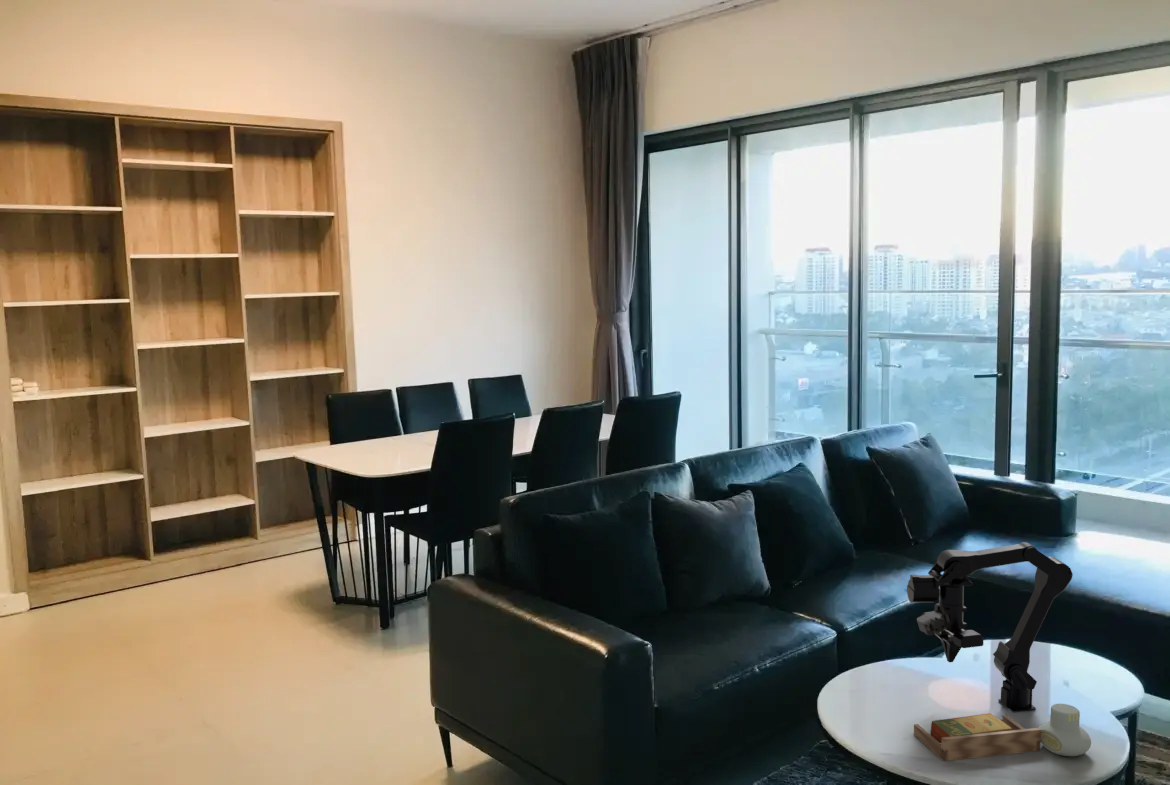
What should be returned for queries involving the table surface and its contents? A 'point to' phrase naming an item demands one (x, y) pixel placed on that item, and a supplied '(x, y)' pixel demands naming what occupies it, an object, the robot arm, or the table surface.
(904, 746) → the table surface
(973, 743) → the frame
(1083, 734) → the air freshener
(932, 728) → the carton
